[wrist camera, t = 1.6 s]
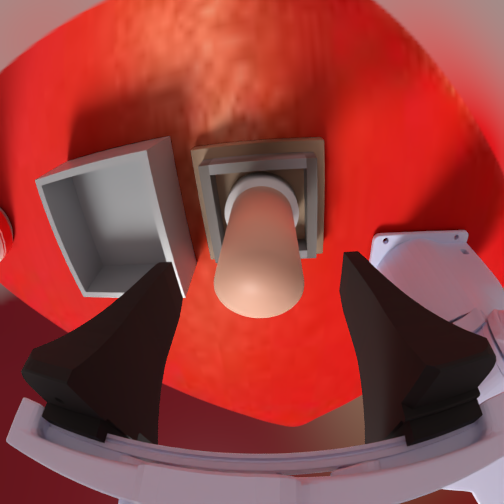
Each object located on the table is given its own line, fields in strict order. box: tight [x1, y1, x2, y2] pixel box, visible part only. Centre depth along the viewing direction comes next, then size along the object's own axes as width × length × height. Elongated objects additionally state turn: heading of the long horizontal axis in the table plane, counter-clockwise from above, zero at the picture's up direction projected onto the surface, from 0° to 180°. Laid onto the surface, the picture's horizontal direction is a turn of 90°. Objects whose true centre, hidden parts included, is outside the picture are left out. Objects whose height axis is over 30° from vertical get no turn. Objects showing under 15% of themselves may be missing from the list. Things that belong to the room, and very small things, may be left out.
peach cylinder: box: [214, 172, 304, 318], centre depth 15 cm, size 4×4×8 cm
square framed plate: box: [191, 137, 325, 263], centre depth 18 cm, size 8×8×2 cm
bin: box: [35, 136, 197, 298], centre depth 18 cm, size 9×10×4 cm
